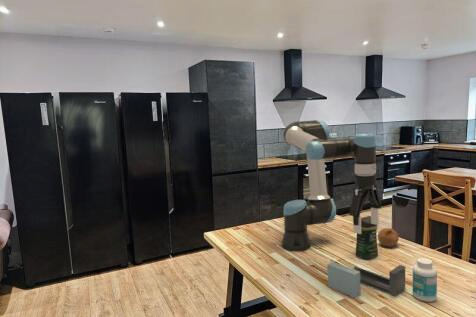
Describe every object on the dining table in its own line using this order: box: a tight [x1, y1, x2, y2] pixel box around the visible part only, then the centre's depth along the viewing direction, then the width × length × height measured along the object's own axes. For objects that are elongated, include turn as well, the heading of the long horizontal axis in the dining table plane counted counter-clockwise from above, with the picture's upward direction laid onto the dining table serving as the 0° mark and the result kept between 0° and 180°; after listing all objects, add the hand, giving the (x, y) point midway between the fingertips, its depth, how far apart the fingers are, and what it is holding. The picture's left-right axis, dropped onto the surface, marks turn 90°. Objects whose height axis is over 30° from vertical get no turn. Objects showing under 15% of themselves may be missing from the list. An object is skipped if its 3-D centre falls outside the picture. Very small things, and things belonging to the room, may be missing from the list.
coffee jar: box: [355, 215, 379, 260], centre depth 148 cm, size 10×8×19 cm
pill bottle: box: [412, 257, 438, 303], centre depth 112 cm, size 8×7×14 cm
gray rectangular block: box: [326, 261, 362, 299], centre depth 120 cm, size 12×3×9 cm, turn 38°
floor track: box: [353, 264, 406, 297], centre depth 124 cm, size 20×8×9 cm, turn 38°
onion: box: [377, 227, 400, 248], centre depth 158 cm, size 10×9×10 cm
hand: (366, 228), depth 123 cm, fingers open, 13 cm apart
